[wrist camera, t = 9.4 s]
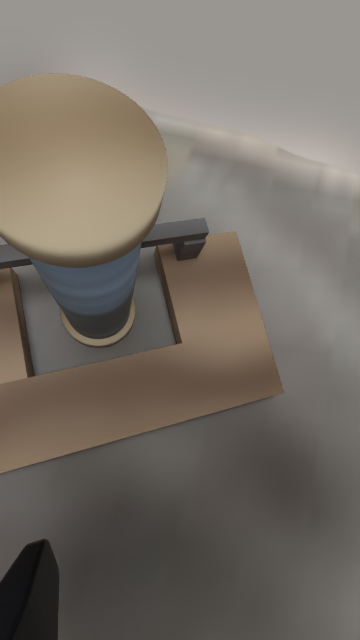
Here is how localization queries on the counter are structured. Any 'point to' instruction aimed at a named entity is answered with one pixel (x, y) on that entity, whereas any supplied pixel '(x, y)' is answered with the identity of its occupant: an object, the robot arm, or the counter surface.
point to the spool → (80, 194)
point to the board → (140, 356)
